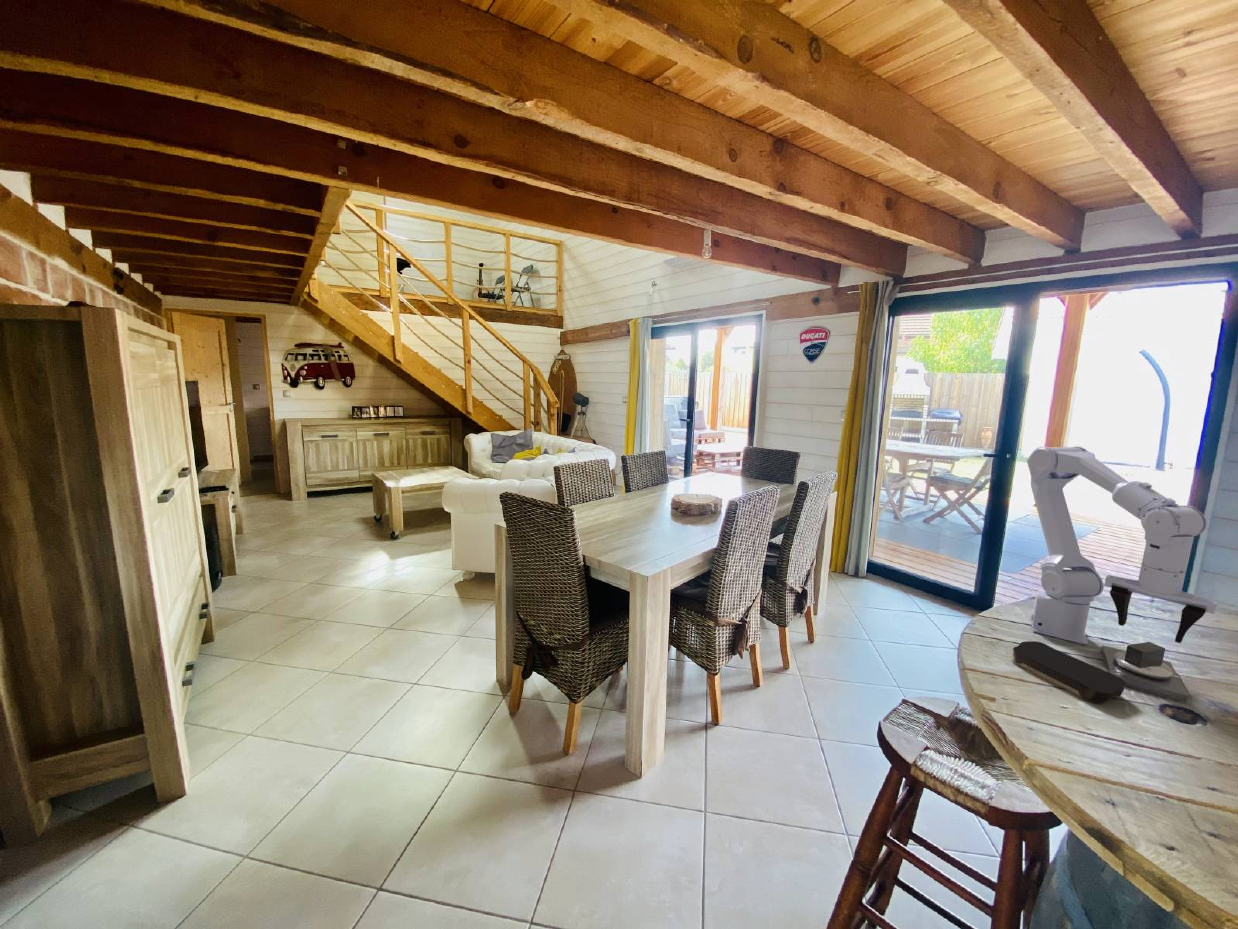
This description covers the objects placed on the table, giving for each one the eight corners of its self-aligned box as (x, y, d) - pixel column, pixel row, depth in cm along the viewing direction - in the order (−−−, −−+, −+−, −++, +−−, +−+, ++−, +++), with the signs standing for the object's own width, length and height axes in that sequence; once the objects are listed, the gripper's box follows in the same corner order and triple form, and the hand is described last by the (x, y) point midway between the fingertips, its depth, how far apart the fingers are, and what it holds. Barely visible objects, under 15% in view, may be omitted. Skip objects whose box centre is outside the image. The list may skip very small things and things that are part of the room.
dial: (1153, 681, 92) (1157, 660, 91) (1103, 658, 99) (1107, 638, 98) (1183, 676, 93) (1188, 655, 93) (1131, 653, 101) (1135, 634, 100)
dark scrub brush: (1129, 700, 89) (1132, 683, 89) (1099, 710, 87) (1103, 691, 86) (1031, 654, 105) (1033, 638, 104) (1003, 660, 102) (1006, 644, 101)
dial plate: (1110, 681, 94) (1111, 673, 94) (1100, 651, 105) (1102, 644, 105) (1187, 703, 88) (1189, 695, 88) (1168, 668, 99) (1170, 661, 98)
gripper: (1226, 575, 89) (1210, 643, 91) (1116, 552, 101) (1104, 612, 103) (1220, 584, 85) (1203, 654, 87) (1106, 558, 97) (1094, 621, 99)
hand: (1149, 632), depth 95 cm, fingers open, 7 cm apart
